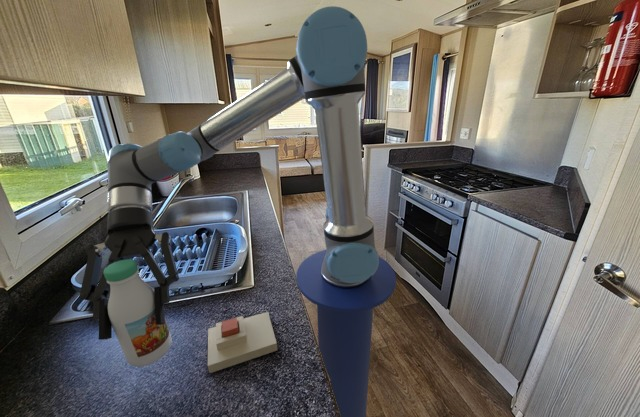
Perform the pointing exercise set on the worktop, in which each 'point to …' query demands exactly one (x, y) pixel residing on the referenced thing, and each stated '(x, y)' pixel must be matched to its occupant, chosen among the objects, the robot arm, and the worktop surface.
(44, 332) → the worktop surface
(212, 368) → the light switch
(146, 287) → the milk bottle
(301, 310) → the worktop surface
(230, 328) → the red switch button
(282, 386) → the worktop surface
